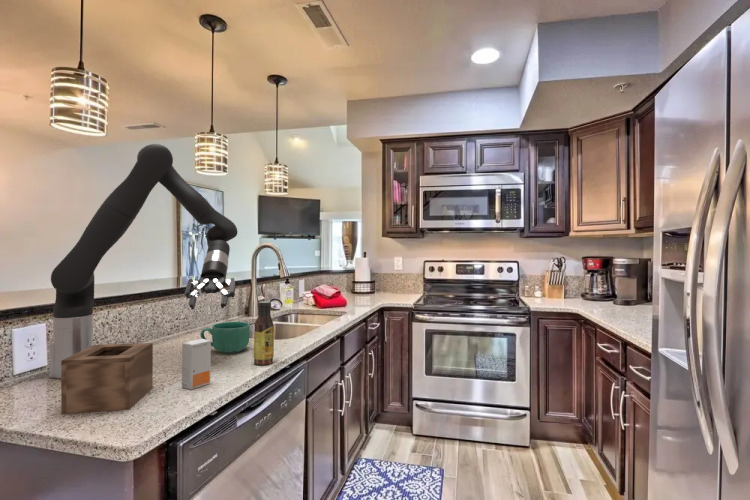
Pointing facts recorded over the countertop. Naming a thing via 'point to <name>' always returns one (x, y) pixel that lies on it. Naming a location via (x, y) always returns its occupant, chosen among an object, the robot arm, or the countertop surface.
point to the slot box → (106, 377)
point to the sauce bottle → (264, 335)
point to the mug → (229, 336)
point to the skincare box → (196, 363)
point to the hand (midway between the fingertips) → (207, 307)
